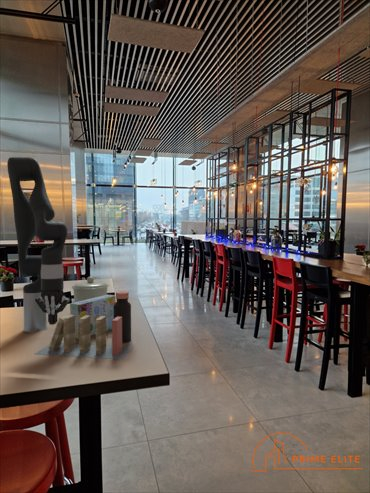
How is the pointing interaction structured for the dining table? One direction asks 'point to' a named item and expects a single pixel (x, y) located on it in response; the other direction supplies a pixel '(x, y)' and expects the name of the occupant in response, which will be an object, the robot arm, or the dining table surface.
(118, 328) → the domino
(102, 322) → the domino
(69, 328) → the domino
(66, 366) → the dining table surface
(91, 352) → the board
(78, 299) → the canister
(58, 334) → the domino
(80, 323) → the domino
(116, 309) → the bottle
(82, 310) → the snack box
